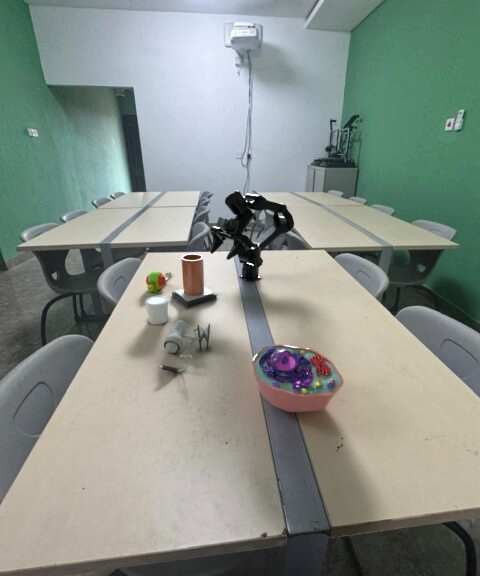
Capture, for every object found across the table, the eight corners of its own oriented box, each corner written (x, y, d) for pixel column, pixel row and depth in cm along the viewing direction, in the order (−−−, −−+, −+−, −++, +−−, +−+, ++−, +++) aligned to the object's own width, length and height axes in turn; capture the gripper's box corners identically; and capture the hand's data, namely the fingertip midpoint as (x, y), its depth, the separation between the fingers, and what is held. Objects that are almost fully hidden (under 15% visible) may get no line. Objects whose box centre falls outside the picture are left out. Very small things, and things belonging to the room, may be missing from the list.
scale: (200, 288, 122) (200, 283, 121) (216, 299, 115) (216, 292, 114) (172, 296, 115) (171, 290, 114) (187, 308, 108) (186, 301, 107)
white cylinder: (172, 315, 103) (171, 296, 100) (165, 326, 97) (163, 306, 94) (152, 313, 103) (150, 294, 101) (143, 324, 97) (140, 304, 94)
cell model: (320, 445, 60) (328, 400, 55) (234, 401, 69) (235, 359, 65) (347, 393, 73) (355, 352, 68) (272, 362, 83) (275, 324, 78)
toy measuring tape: (141, 293, 117) (139, 277, 114) (162, 274, 134) (160, 259, 132) (158, 295, 116) (156, 278, 113) (176, 275, 134) (175, 261, 131)
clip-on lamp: (198, 384, 78) (213, 333, 92) (198, 368, 74) (214, 317, 88) (151, 377, 78) (174, 326, 92) (149, 361, 74) (173, 310, 89)
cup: (203, 286, 118) (201, 253, 113) (205, 294, 112) (203, 260, 107) (183, 287, 117) (181, 254, 111) (184, 296, 110) (181, 261, 105)
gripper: (213, 205, 119) (190, 238, 117) (248, 212, 108) (223, 250, 105) (228, 222, 128) (207, 254, 125) (262, 232, 116) (240, 267, 114)
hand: (218, 256), depth 117 cm, fingers open, 9 cm apart
